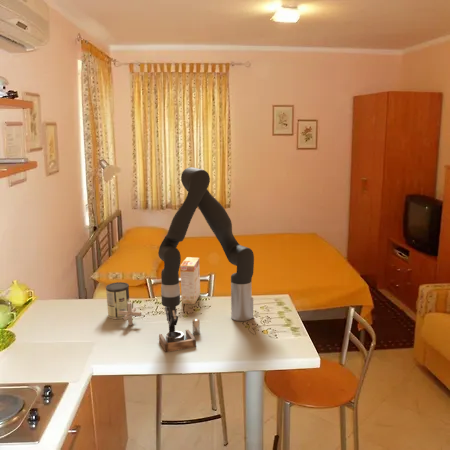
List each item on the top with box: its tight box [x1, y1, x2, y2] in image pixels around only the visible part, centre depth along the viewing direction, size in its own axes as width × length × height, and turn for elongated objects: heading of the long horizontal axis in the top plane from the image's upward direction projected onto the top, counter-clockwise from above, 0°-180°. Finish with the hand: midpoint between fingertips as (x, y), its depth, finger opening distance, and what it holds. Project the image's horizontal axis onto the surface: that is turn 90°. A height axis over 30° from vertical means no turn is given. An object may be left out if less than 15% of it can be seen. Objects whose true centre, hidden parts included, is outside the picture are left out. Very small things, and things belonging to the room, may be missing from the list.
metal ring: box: [165, 330, 185, 343], centre depth 193 cm, size 7×7×3 cm
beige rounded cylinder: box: [191, 318, 201, 336], centre depth 200 cm, size 3×3×6 cm
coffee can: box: [105, 281, 130, 320], centre depth 220 cm, size 10×10×14 cm
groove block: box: [158, 329, 197, 353], centre depth 191 cm, size 12×10×3 cm
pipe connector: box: [118, 301, 142, 326], centre depth 209 cm, size 10×10×10 cm
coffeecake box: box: [179, 256, 201, 305], centre depth 239 cm, size 15×7×20 cm, turn 172°
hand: (172, 332), depth 197 cm, fingers closed
